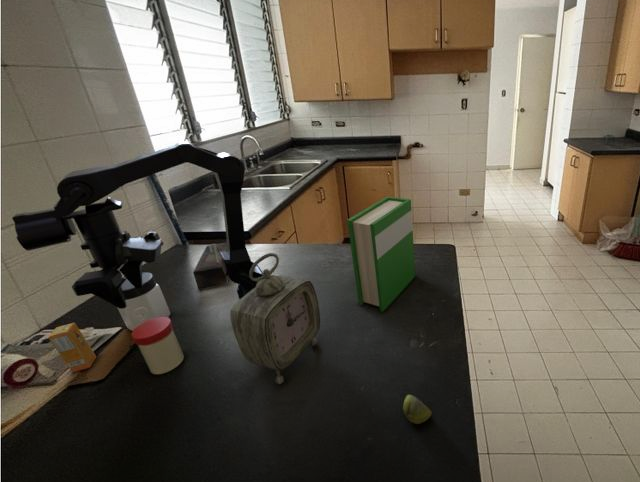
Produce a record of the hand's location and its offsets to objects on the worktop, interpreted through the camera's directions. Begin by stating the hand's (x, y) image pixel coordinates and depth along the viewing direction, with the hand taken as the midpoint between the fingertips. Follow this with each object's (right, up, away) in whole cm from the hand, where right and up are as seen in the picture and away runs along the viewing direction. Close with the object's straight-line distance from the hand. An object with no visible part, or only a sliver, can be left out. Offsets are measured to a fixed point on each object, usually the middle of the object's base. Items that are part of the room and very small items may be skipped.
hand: (131, 297), depth 74 cm
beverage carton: (0, 0, +32) cm, 32 cm away
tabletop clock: (+36, -13, -3) cm, 38 cm away
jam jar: (+10, -14, -2) cm, 17 cm away
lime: (+63, -17, -16) cm, 68 cm away
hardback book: (+55, -2, +19) cm, 58 cm away
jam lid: (+9, -5, -6) cm, 12 cm away
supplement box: (-9, -14, -2) cm, 17 cm away
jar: (-5, -9, +11) cm, 15 cm away
